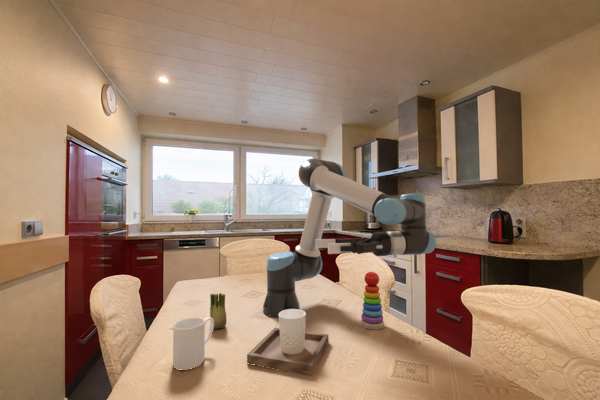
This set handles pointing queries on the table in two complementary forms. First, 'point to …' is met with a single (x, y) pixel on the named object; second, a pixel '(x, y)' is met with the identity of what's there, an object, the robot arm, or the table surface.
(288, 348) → the white cup
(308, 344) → the tray
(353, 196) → the robot arm
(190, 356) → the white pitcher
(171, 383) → the table surface
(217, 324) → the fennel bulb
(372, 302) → the stacking toy
